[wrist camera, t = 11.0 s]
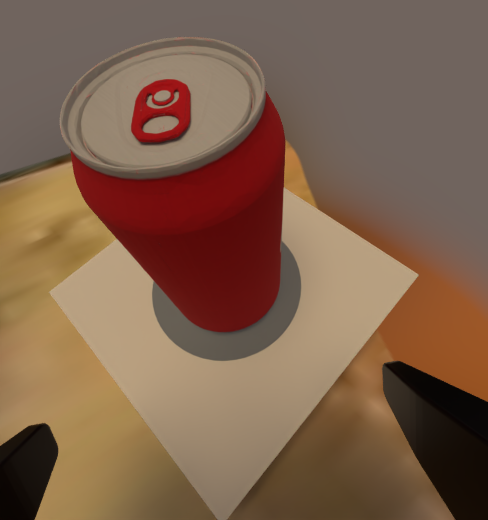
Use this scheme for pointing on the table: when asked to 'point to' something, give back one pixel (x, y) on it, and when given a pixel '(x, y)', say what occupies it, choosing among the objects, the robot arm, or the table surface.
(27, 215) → the table surface
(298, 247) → the base plate
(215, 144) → the beverage can
